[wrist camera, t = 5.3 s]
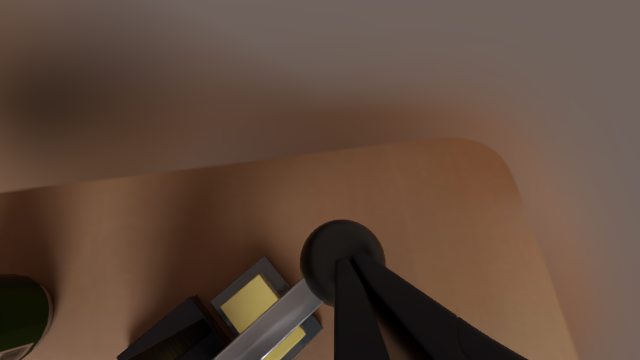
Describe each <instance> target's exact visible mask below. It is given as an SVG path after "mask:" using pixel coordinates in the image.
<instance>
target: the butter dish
mask: <svg viewBox="0 0 640 360" xmlns="http://www.w3.org/2000/svg"><path fill="white" fill-rule="evenodd" d="M290 288H291V287H290V286H289V285H288V283H287V282H286V281H285V280H284V278H283V277H282V276H281V275H280V273H279V272H278V271H277V270H276V268H275V267H274V266H273V265H272V263H271V262H270V261H269V260H268V258H267V257H266V256H263V257H262V258H261V259H260V260H259V261H258V262H256V263H255V264H254V265H253V266H252V267H251V268H249V269H248V270H247V271H246V272H245V273H243V274H242V275H241V276H240V277H239V278H238V279H236V280H235V281H234V282H233V283H232V284H231V285H229V286H228V287H227V288H226V289H225V290H223V291H222V292H221V293H220V294H219V295H218V296H216V297H215V298H214V299H213V300H212V301H211V302H210V303H211V304H212V306H213V307H214V308H215V310H216V311H217V312H218V314H219V315H220V316H221V318H222V319H223V320H224V322H225V323H226V325H227V326H228V327H229V329H230V330H231V331H232V333H233V334H234V335H235V337H237V336H238V335H239V334H240V333H241V332H243V331H244V330H245V329H246V328H247V327H248V326H249V325H250V324H251V323H253V322H254V321H255V320H256V319H257V318H258V317H259V316H260V315H261V314H263V313H264V312H265V311H266V310H267V309H268V308H269V307H270V306H271V305H273V304H274V303H275V302H276V301H277V300H278V299H279V298H280V297H281V296H283V295H284V294H285V293H286V292H287V291H288V290H289V289H290ZM322 329H323V328H322V326H321V325H320V323H319V322H318V321H317V320H316V318H315V317H314V316H313V315H312V314H311V315H310V316H309V317H308V318H307V319H306V320H305V321H303V322H302V323H301V324H300V325H299V326H298V327H297V328H296V329H295V330H294V331H293V332H292V333H291V334H290V335H288V336H287V337H286V338H285V339H284V340H283V341H282V342H281V343H280V344H279V345H278V346H277V347H276V348H275V349H273V350H272V351H271V352H270V353H269V354H268V355H267V356H266V357H265V358H264V359H263V360H291V359H292V358H293V357H294V356H295V355H296V354H298V353H299V352H300V351H301V350H302V349H303V348H304V347H305V346H306V345H307V344H308V343H309V342H310V341H311V340H312V339H313V338H314V337H315V336H316V335H317V334H318V333H319V332H320V331H321V330H322Z"/></svg>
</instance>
